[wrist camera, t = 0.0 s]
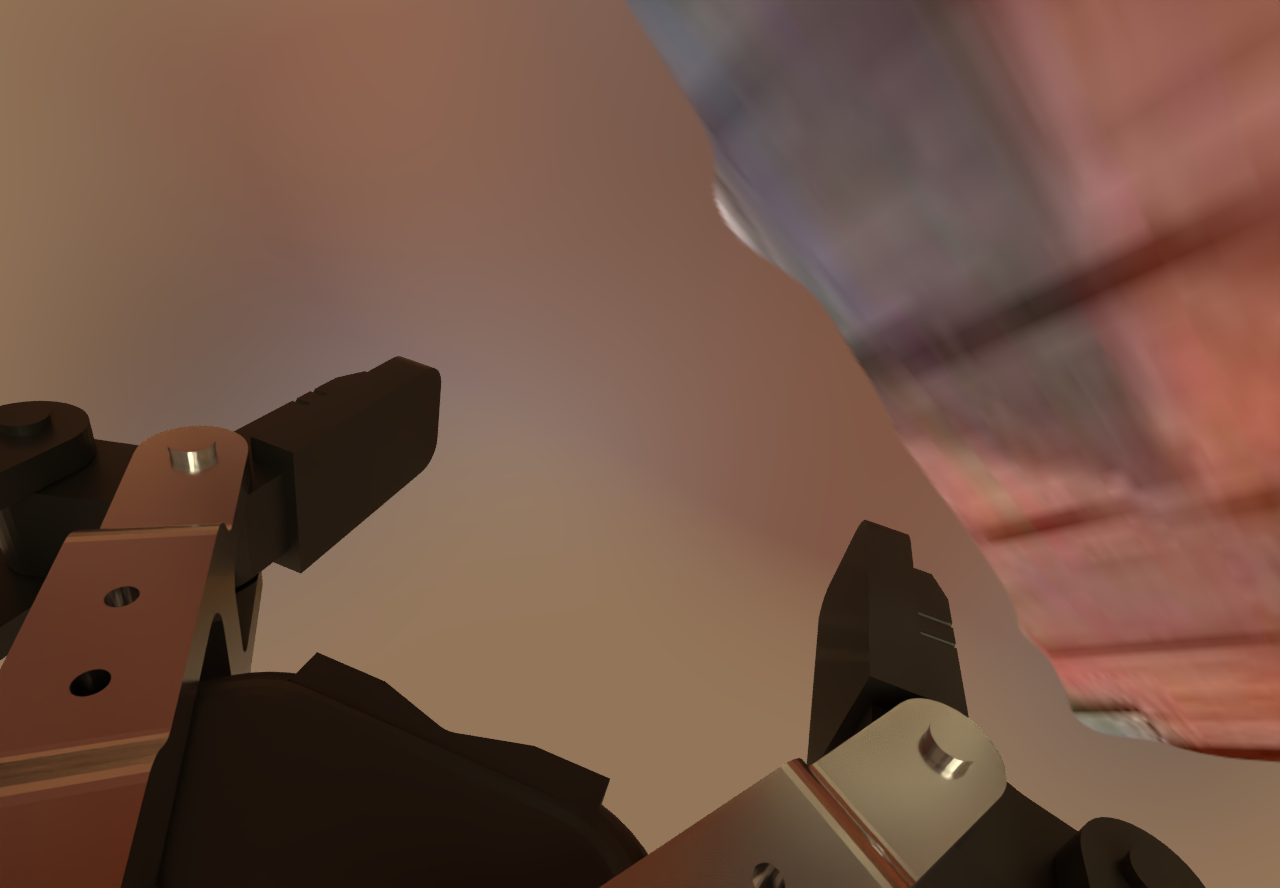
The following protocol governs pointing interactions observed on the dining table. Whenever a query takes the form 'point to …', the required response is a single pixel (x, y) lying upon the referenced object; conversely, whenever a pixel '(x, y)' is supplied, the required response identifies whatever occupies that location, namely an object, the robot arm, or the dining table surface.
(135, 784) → the robot arm
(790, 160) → the dining table surface
